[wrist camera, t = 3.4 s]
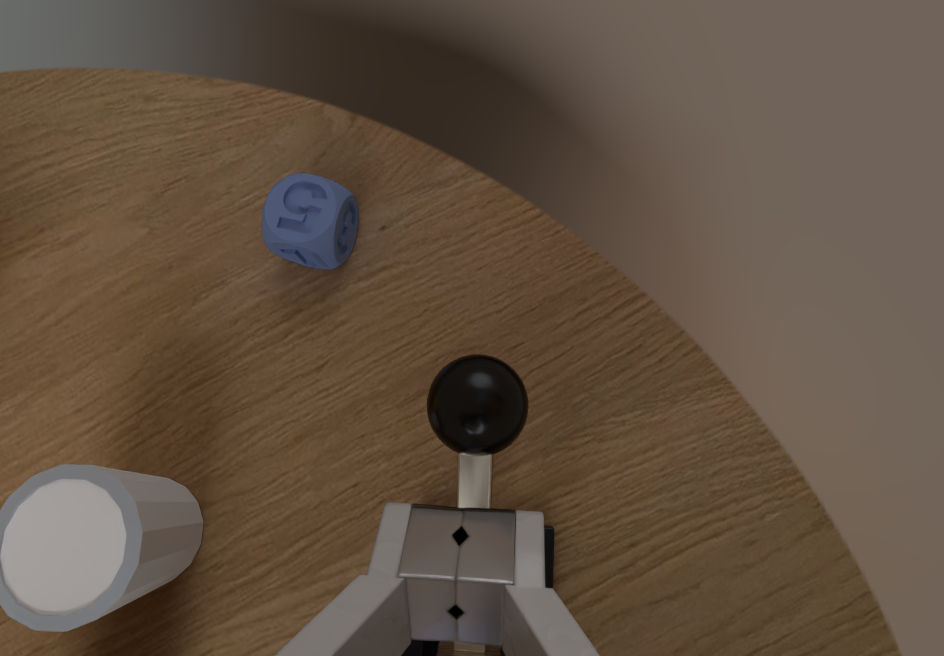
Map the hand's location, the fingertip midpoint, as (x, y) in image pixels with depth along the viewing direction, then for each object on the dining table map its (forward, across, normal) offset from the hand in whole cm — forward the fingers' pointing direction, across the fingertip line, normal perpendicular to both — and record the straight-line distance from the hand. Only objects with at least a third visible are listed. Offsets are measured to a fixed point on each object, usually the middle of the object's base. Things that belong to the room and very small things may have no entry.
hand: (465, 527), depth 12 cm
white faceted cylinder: (+13, -18, -18) cm, 28 cm away
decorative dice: (+25, -11, -6) cm, 28 cm away
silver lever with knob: (+7, 0, -8) cm, 11 cm away
